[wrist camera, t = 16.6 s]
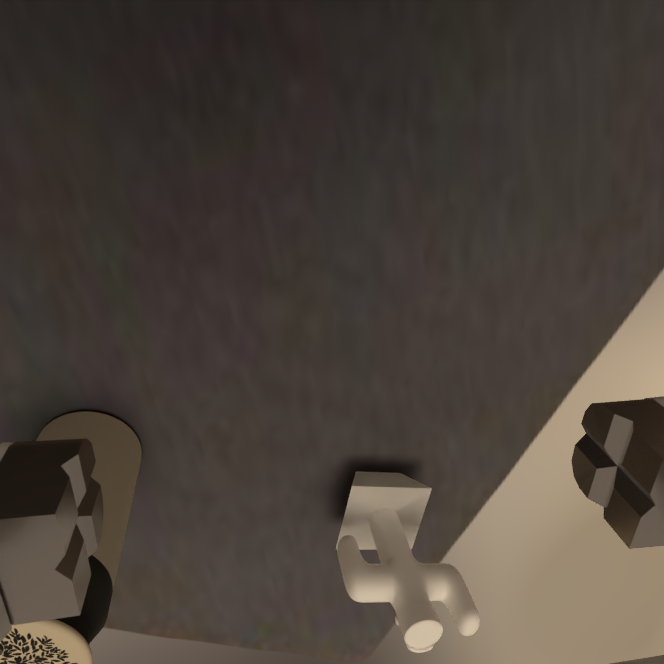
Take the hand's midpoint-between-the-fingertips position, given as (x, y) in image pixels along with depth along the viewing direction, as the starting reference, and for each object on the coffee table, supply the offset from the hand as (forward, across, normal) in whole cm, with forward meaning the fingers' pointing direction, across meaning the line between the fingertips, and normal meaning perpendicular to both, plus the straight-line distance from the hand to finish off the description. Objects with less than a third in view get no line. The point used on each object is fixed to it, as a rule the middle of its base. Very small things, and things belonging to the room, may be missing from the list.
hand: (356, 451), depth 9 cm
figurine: (+31, -10, +30) cm, 45 cm away
